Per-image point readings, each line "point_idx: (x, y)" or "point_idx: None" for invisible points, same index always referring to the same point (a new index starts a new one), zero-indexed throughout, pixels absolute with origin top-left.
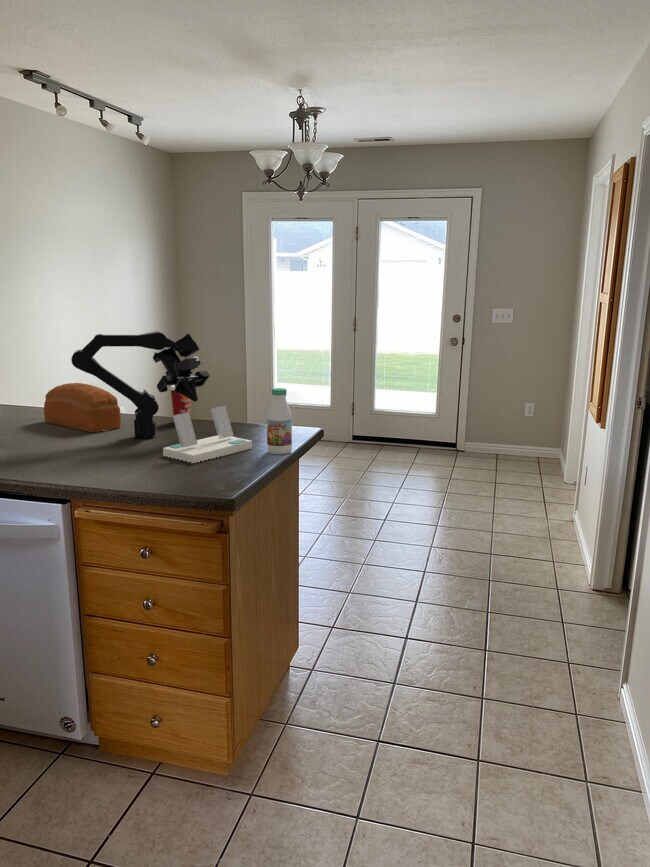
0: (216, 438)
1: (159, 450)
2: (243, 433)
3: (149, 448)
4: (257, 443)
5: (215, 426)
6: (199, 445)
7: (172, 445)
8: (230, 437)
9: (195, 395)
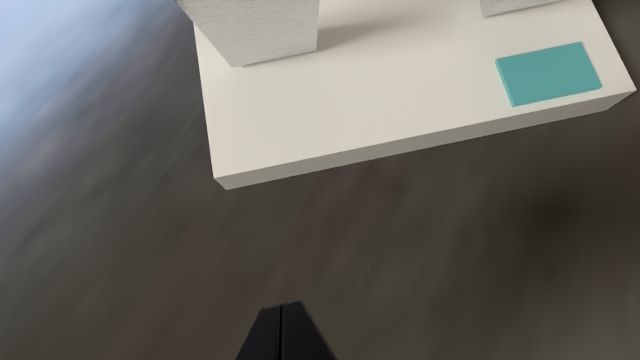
0: (295, 109)
1: (593, 222)
2: (7, 296)
3: (635, 301)
4: (121, 62)
5: (317, 23)
6: (445, 31)
7: (582, 86)
8: (223, 86)
9: (270, 356)
